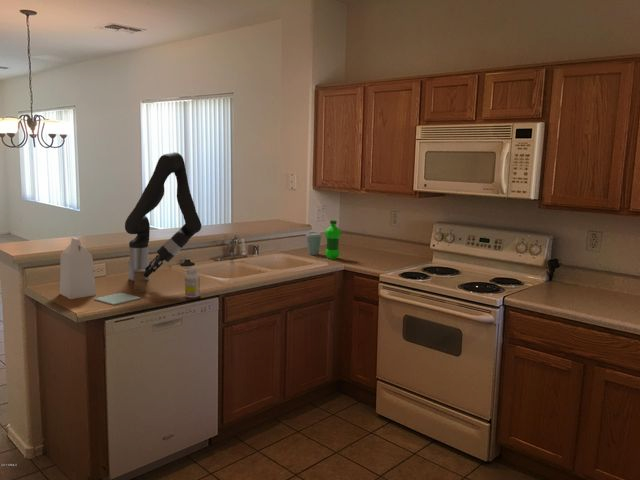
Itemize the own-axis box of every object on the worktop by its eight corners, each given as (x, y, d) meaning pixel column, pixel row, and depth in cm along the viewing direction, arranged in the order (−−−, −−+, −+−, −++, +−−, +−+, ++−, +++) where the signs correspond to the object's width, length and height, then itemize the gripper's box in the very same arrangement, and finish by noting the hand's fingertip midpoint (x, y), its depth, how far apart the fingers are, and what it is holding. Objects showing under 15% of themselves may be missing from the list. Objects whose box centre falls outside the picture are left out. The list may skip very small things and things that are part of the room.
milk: (60, 293, 247) (57, 237, 243) (85, 290, 255) (83, 235, 251) (69, 299, 238) (67, 241, 234) (95, 295, 246) (93, 239, 242)
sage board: (94, 299, 238) (94, 298, 238) (121, 293, 249) (121, 292, 249) (113, 305, 230) (113, 303, 230) (140, 298, 242) (140, 297, 242)
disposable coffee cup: (323, 255, 365) (324, 233, 362) (310, 256, 359) (310, 234, 357) (316, 252, 374) (316, 231, 371) (302, 253, 368) (303, 232, 366)
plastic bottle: (321, 258, 353) (322, 220, 349) (331, 256, 361) (332, 219, 357) (333, 260, 346) (334, 222, 342) (343, 258, 354) (344, 220, 350)
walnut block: (134, 290, 257) (134, 269, 256) (145, 289, 259) (145, 269, 257) (134, 292, 253) (134, 271, 251) (145, 291, 254) (145, 271, 253)
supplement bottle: (193, 293, 254) (193, 267, 252) (202, 296, 249) (202, 269, 247) (182, 296, 248) (181, 269, 246) (191, 298, 244) (190, 271, 242)
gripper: (162, 242, 263) (138, 266, 261) (164, 247, 249) (138, 272, 247) (174, 252, 265) (150, 276, 263) (176, 257, 252) (151, 282, 250)
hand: (144, 274), depth 255 cm, fingers open, 8 cm apart
